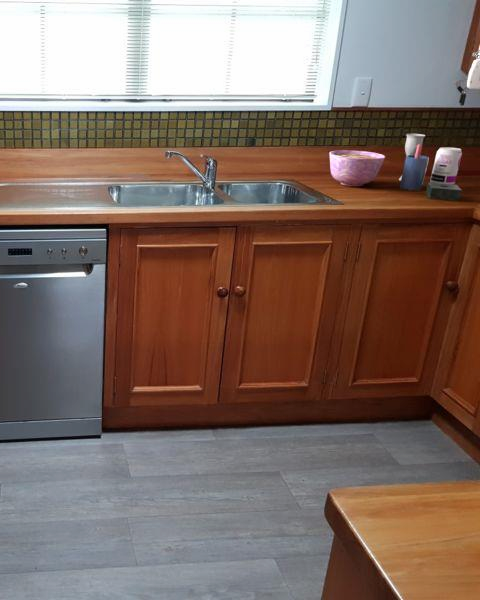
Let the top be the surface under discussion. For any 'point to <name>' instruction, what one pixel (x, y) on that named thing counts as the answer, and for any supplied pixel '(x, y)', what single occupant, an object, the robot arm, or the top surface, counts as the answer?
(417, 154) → the straw
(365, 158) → the bowl of food
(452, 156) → the supplement can
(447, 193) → the straw stand
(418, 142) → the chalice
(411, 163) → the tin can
